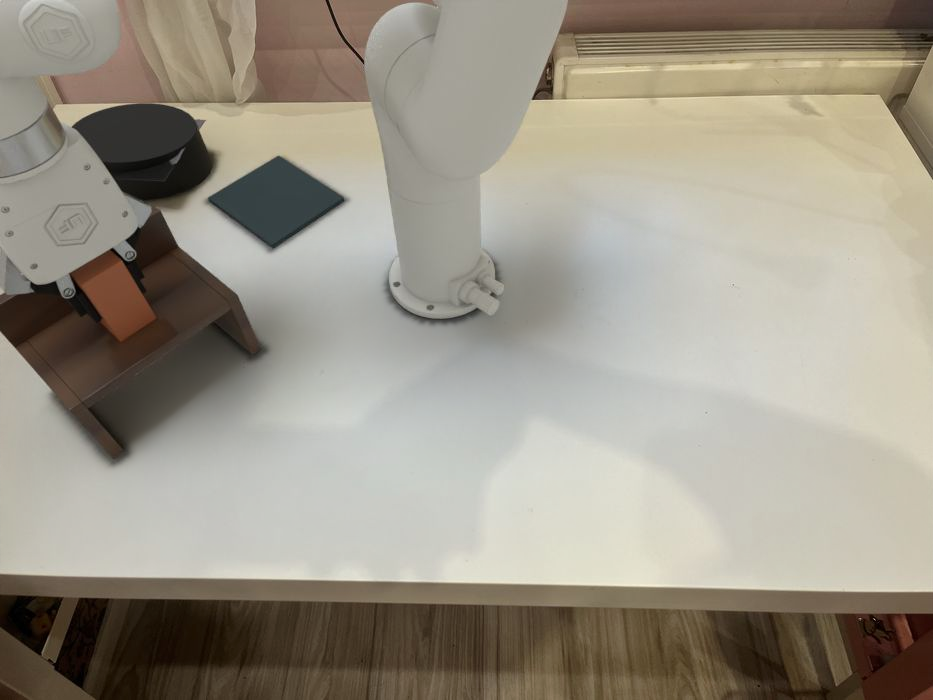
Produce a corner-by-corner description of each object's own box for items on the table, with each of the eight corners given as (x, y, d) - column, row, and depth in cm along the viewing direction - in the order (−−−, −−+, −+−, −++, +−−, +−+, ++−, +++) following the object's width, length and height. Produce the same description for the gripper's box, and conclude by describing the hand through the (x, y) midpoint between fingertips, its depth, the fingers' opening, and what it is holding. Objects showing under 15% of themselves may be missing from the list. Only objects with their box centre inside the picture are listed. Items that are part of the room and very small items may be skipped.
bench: (261, 349, 76) (222, 259, 65) (113, 459, 68) (39, 377, 57) (200, 296, 81) (154, 205, 70) (56, 393, 74) (-22, 307, 62)
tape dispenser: (120, 141, 103) (94, 97, 97) (229, 145, 99) (208, 99, 94) (70, 206, 95) (38, 162, 89) (187, 213, 91) (161, 168, 85)
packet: (157, 318, 68) (122, 260, 61) (120, 342, 66) (81, 285, 60) (130, 293, 70) (94, 235, 63) (94, 316, 68) (53, 258, 62)
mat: (344, 200, 91) (343, 197, 91) (272, 248, 86) (271, 244, 86) (279, 158, 97) (278, 155, 97) (208, 201, 92) (207, 197, 92)
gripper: (-88, 216, 46) (51, 374, 61) (132, 106, 53) (210, 271, 68) (-128, 170, 49) (13, 331, 64) (85, 72, 57) (168, 237, 71)
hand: (113, 299), depth 66 cm, fingers closed on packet, 4 cm apart
